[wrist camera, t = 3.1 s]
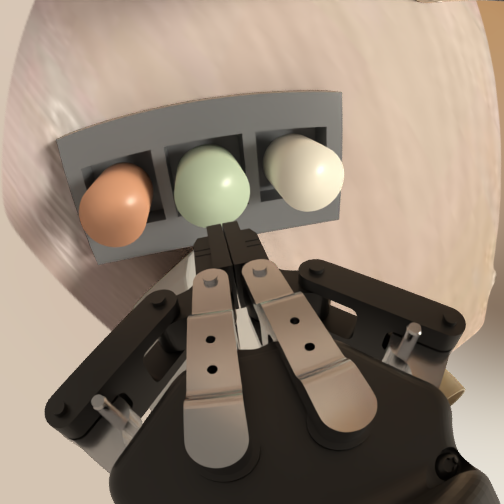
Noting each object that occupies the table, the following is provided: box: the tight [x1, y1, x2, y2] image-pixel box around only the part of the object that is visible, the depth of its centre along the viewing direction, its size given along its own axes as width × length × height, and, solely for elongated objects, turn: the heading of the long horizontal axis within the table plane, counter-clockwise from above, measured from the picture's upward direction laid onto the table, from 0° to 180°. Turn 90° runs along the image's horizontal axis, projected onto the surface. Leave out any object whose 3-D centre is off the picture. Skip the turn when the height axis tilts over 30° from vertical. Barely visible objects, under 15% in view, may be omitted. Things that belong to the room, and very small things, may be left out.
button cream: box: [263, 133, 344, 212], centre depth 21 cm, size 5×5×4 cm
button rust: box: [79, 162, 154, 247], centre depth 19 cm, size 5×5×4 cm
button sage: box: [174, 144, 250, 228], centre depth 20 cm, size 5×5×4 cm
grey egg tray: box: [56, 90, 342, 265], centre depth 23 cm, size 12×23×3 cm, turn 95°
